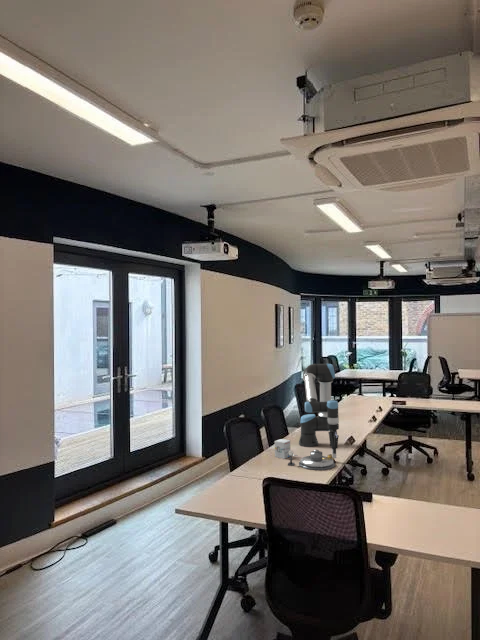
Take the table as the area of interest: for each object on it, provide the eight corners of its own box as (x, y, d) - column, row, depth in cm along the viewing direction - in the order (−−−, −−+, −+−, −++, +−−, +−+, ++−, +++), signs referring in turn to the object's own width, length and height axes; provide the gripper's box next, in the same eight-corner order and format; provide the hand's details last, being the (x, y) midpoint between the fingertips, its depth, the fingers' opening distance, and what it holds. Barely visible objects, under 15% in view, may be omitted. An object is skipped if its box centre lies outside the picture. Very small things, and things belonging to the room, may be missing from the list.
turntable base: (301, 459, 333) (301, 457, 333) (336, 460, 327) (336, 459, 327) (296, 469, 310) (296, 467, 310) (333, 471, 304) (333, 469, 304)
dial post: (288, 463, 323) (288, 449, 323) (298, 464, 321) (297, 449, 321) (287, 465, 319) (287, 450, 319) (297, 466, 317) (297, 451, 317)
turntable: (293, 462, 322) (293, 456, 322) (322, 455, 336) (322, 451, 336) (315, 469, 304) (315, 464, 304) (344, 462, 318) (344, 457, 318)
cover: (308, 459, 320) (307, 450, 320) (316, 457, 325) (316, 448, 325) (316, 462, 313) (316, 452, 314) (325, 460, 318) (324, 450, 318)
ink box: (281, 454, 347) (280, 438, 347) (291, 456, 342) (290, 440, 342) (274, 457, 340) (274, 440, 340) (284, 458, 335) (284, 442, 335)
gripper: (324, 422, 330) (325, 455, 330) (331, 425, 318) (332, 460, 317) (334, 421, 332) (335, 455, 331) (341, 424, 319) (343, 460, 318)
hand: (334, 457), depth 324 cm, fingers closed
